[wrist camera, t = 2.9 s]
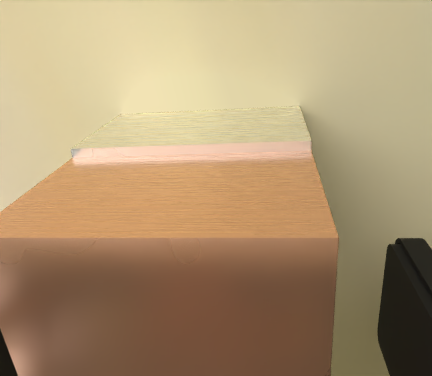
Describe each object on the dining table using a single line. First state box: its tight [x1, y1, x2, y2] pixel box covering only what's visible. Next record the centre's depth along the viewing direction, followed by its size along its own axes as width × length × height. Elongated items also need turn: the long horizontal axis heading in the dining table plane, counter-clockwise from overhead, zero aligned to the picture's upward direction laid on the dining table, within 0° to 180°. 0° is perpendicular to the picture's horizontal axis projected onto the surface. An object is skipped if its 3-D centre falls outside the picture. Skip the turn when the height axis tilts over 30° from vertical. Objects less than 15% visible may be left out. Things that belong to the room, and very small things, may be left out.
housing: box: [0, 106, 339, 376], centre depth 10 cm, size 5×8×6 cm, turn 4°
